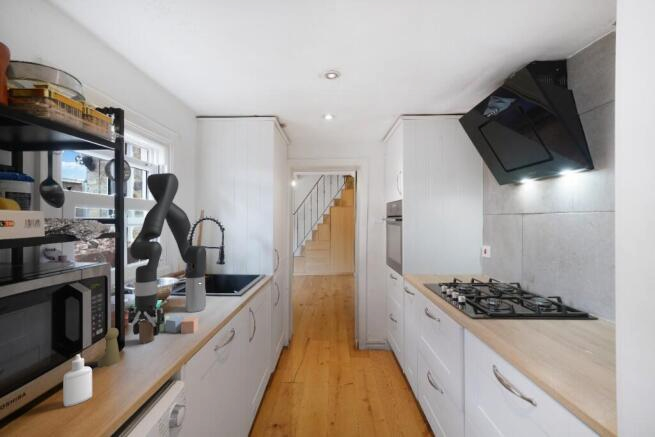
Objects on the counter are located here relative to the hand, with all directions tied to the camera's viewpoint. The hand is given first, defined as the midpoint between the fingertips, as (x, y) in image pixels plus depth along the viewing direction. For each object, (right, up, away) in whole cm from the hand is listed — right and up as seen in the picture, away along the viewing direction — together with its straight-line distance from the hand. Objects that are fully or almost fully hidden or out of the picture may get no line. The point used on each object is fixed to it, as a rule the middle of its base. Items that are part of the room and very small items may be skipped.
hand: (146, 334), depth 114 cm
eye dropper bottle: (+5, -3, -37) cm, 38 cm away
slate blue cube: (+5, -3, +11) cm, 13 cm away
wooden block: (0, -3, 0) cm, 3 cm away
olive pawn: (-2, -3, -17) cm, 17 cm away
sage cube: (-2, -3, +13) cm, 13 cm away
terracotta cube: (+12, -3, +10) cm, 16 cm away
